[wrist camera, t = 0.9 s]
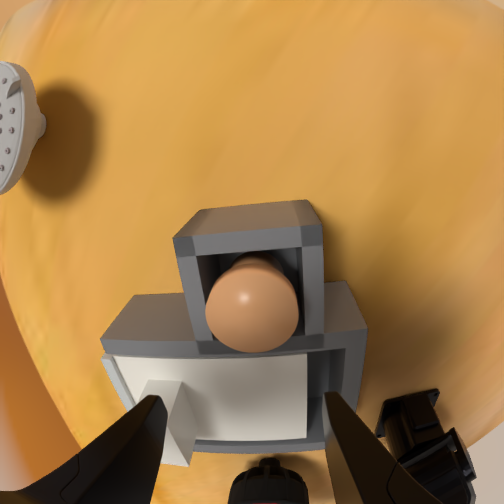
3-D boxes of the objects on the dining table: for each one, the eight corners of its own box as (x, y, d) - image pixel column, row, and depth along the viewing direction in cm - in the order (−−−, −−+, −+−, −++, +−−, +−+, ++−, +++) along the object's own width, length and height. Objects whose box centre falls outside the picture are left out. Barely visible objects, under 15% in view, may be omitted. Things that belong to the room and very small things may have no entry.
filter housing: (338, 395, 25) (348, 446, 19) (171, 400, 27) (155, 447, 21) (344, 196, 19) (373, 220, 13) (115, 221, 20) (69, 249, 15)
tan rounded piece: (294, 305, 18) (299, 349, 14) (225, 310, 18) (214, 354, 14) (290, 238, 16) (296, 270, 13) (214, 245, 17) (197, 277, 13)
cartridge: (303, 398, 24) (309, 478, 16) (157, 398, 25) (130, 468, 17) (301, 313, 21) (313, 402, 13) (126, 321, 22) (78, 392, 14)
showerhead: (36, 145, 12) (-35, 227, 13) (103, 139, 18) (24, 202, 20) (5, 24, 9) (-63, 121, 11) (67, 43, 16) (-5, 115, 17)
